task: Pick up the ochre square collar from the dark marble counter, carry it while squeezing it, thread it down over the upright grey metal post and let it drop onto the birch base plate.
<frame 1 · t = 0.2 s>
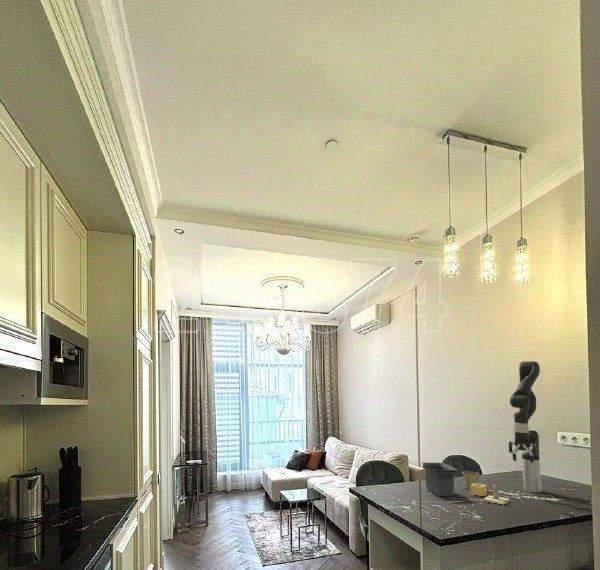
hand: (523, 462, 268), 17 cm above the counter, tool pointing down, fingers open, 8 cm apart
flower pot: (471, 489, 277), on the counter
storage bin: (438, 493, 264), on the counter
ring: (478, 494, 262), on the counter
post stand: (496, 501, 248), on the counter
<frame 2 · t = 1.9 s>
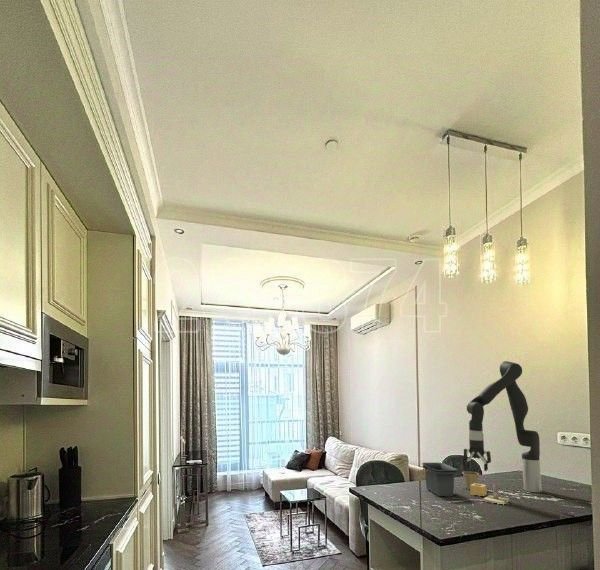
hand: (477, 469, 265), 13 cm above the counter, tool pointing down, fingers open, 8 cm apart
nothing on the counter moved.
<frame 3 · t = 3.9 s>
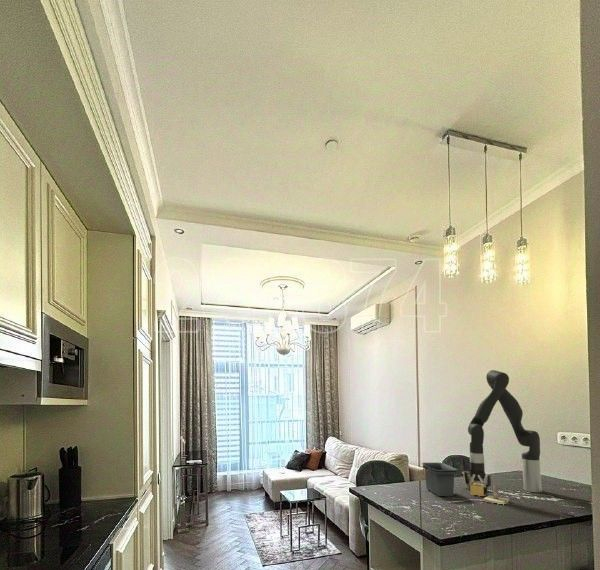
hand: (478, 493, 263), 1 cm above the counter, tool pointing down, fingers closed on ring, 6 cm apart
ring: (478, 494, 262), on the counter, touching gripper
everything else where it was.
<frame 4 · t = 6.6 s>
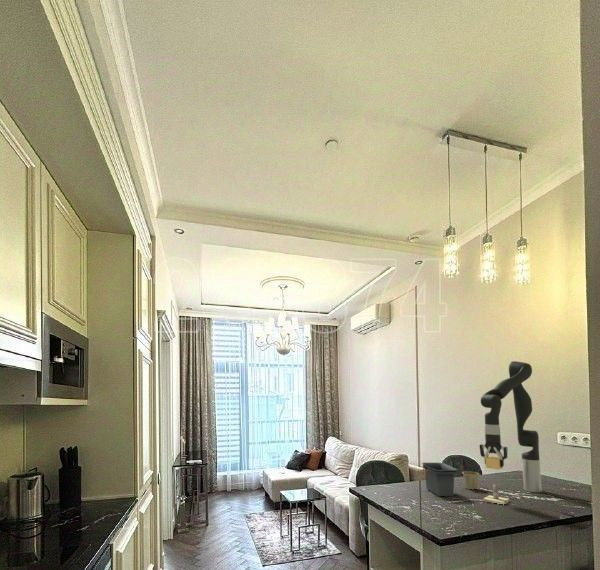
hand: (494, 466, 252), 17 cm above the counter, tool pointing down, fingers closed on ring, 6 cm apart
ring: (494, 467, 251), point 17 cm above the counter, touching gripper
everything else where it was.
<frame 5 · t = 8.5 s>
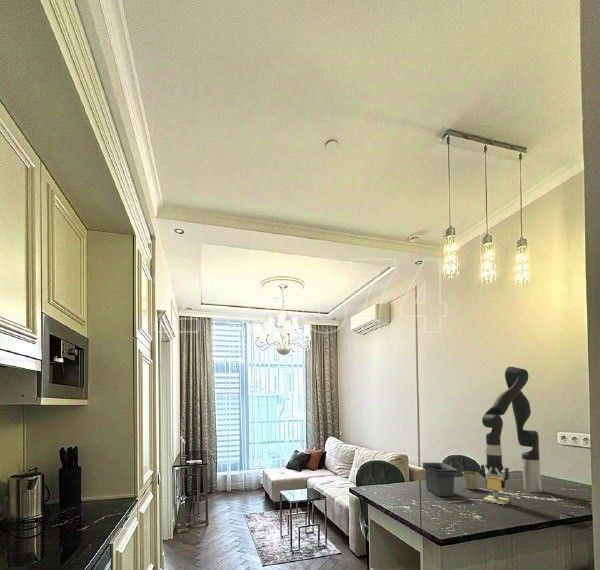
hand: (495, 487, 249), 7 cm above the counter, tool pointing down, fingers closed on ring, 6 cm apart
ring: (495, 488, 249), point 6 cm above the counter, touching gripper
everything else where it was.
when the fingers open (6 cm above the counter, at t = 9.7 s): ring drops 4 cm, resting on post stand.
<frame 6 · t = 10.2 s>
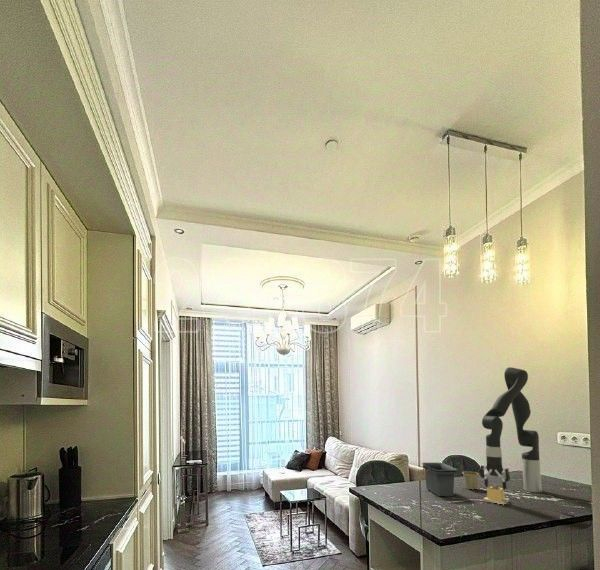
hand: (495, 488, 249), 7 cm above the counter, tool pointing down, fingers open, 8 cm apart
ring: (496, 498, 249), point 1 cm above the counter, touching post stand
everything else where it was.
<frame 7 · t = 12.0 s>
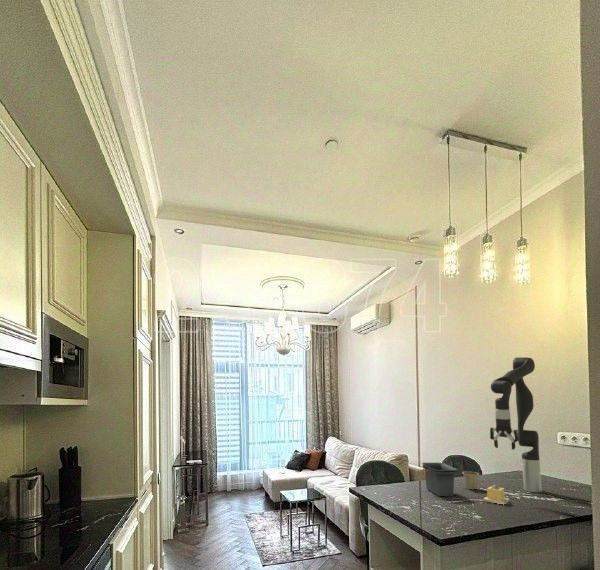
hand: (504, 448, 261), 25 cm above the counter, tool pointing down, fingers open, 8 cm apart
nothing on the counter moved.
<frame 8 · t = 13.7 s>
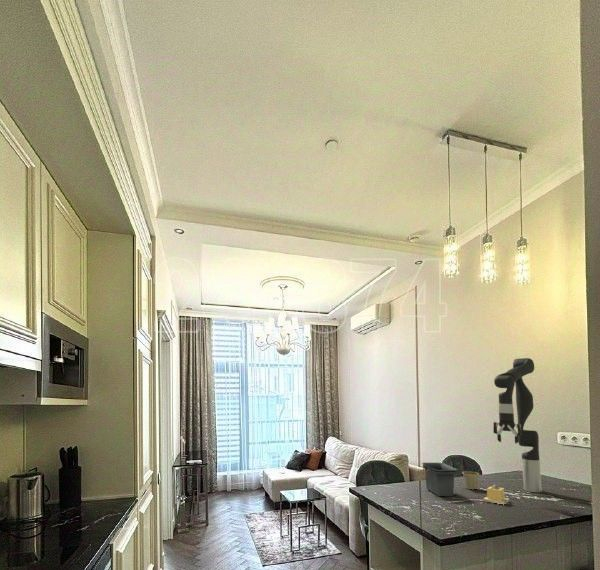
hand: (508, 442, 264), 28 cm above the counter, tool pointing down, fingers open, 8 cm apart
nothing on the counter moved.
at the end: ring 0.1 cm from the post stand (horizontally); ring point 1.5 cm above the counter; the gripper is holding nothing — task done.
